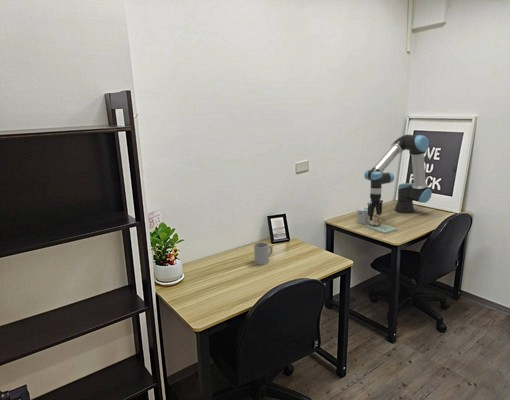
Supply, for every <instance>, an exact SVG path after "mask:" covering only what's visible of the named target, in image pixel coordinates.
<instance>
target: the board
mask: <svg viewBox="0 0 510 400" xmlns="http://www.w3.org/2000/svg"><path fill="white" fill-rule="evenodd" d="M363 226H364V227H363V228H365V229H368V230H371V231H375V232H377V233H381V234H384V235H386V234H390V233H393V232H396V231H398V228H396V227H393V226H390V225H387V224H383V223H381V225H379V226H374V225H371V224H365V225H364V224H363Z"/></svg>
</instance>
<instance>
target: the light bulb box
mask: <svg viewBox="0 0 510 400" xmlns="http://www.w3.org/2000/svg"><path fill="white" fill-rule="evenodd" d="M356 210H357V211H356V215H357V216H356V222H357V224H359V225H361V224H363V225H364V224H365V225H368V207H360V208H359V207H358V208H357V209H356ZM371 215H372V214H371Z"/></svg>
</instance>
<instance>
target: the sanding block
mask: <svg viewBox="0 0 510 400" xmlns="http://www.w3.org/2000/svg"><path fill="white" fill-rule="evenodd" d="M373 216H374V224H373V225H374V226H379V225H381V224H382V216H380V217H379V216H376V214H373ZM368 224H370V216H368ZM368 224H367V225H368Z"/></svg>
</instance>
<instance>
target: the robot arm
mask: <svg viewBox="0 0 510 400" xmlns="http://www.w3.org/2000/svg"><path fill="white" fill-rule="evenodd" d="M429 146H430V140H429V138H428V137H426V136H425V135H421V134H404V135H401V136H400V137H397V139H395V140H394V141H393V142H392V143H391V145H390V148H389V149H388V150H387V151H386V152H385V153H384V155H383V156H382V157H381V158H380V159H379V161H377V163H375V165H374V166H373V167H372V168H371V169H367V170H365V172H364V179H365V180H367V181H370V191H369V192H370V194H369V198H370V201H369V202H367V208H368V216H370V224H371V225H373V224H374V216H373V215H376V216H379V217H381V215H382V214H383V201H384V200H382V185H385V184H390V183H393V182H394V181H395V176H394V174H393V172H389V171H388V172H384V171H385V169H387V167H388V166H390V164H391V163H392V162H393V161H394V159H396V157H397V156H398V155H399V154H401V153H402V152H403V151H406V150H407V151H409V155H410V156H411V166H412V178H413V179H412V180H413V183H412V182H405V183H400V184H398V188H397V202H396V204H395V207H394V211H395V212H398V213H402V214H412V213H414V212H415V206H414V202H419V203H423V204H425V203H428V202H429V200H430V199H431V197H432V196H433V195H432V194H433V192H432V189H430V188H429V185H428V183H426V168H425V167H426V166H425V154H426V152H427V151H428V149H429ZM413 201H414V202H413ZM375 212H376V214H374V213H375ZM371 214H372V215H371Z"/></svg>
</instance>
